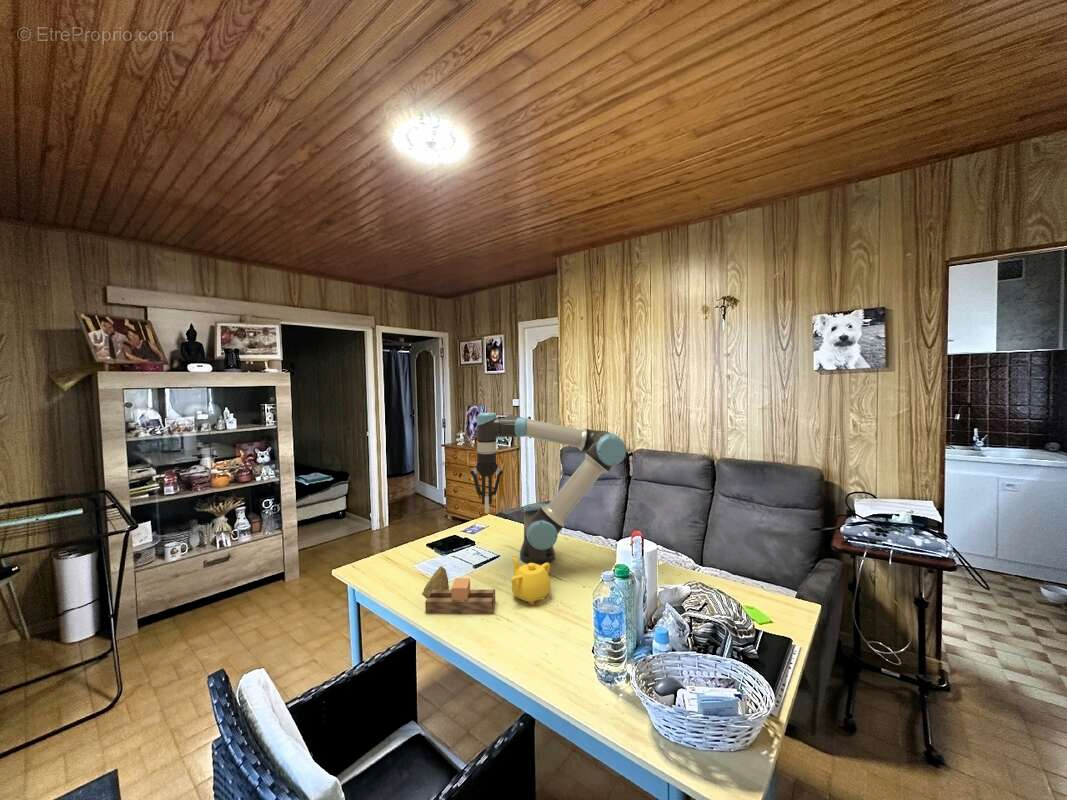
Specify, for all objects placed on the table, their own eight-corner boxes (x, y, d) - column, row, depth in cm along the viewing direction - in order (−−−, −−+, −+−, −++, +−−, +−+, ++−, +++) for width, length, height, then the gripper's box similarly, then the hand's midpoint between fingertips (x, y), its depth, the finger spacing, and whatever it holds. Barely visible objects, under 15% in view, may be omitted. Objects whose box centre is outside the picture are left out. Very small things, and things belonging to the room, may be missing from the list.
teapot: (549, 586, 154) (549, 554, 154) (551, 607, 140) (552, 572, 139) (511, 586, 154) (511, 555, 153) (510, 607, 140) (510, 572, 139)
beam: (495, 600, 144) (495, 588, 144) (493, 614, 135) (493, 601, 135) (431, 600, 144) (431, 588, 144) (425, 614, 135) (425, 601, 135)
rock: (457, 595, 143) (453, 583, 153) (445, 574, 142) (442, 564, 152) (428, 614, 140) (426, 601, 150) (416, 593, 139) (415, 581, 149)
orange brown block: (470, 597, 143) (470, 578, 143) (467, 608, 136) (466, 588, 136) (455, 597, 143) (455, 578, 143) (451, 608, 136) (451, 588, 136)
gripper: (504, 450, 167) (504, 509, 167) (471, 450, 167) (471, 509, 167) (502, 453, 159) (503, 515, 160) (468, 453, 159) (469, 515, 160)
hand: (487, 512), depth 164 cm, fingers closed
